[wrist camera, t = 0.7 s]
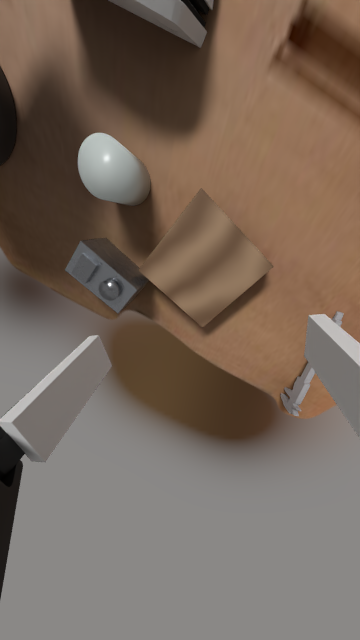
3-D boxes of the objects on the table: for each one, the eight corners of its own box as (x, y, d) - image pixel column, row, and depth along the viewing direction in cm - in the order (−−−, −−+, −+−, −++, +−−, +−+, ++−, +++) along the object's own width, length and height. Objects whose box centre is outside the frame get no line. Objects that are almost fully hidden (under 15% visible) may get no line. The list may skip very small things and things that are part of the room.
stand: (146, 265, 34) (138, 270, 30) (203, 192, 28) (201, 187, 24) (203, 317, 36) (202, 327, 33) (267, 261, 30) (273, 266, 27)
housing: (91, 261, 35) (60, 271, 28) (106, 237, 33) (75, 241, 26) (134, 298, 37) (115, 316, 30) (151, 278, 35) (134, 292, 28)
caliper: (284, 395, 42) (295, 421, 36) (279, 393, 42) (289, 419, 36) (342, 312, 32) (368, 330, 26) (335, 310, 32) (360, 328, 27)
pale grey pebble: (104, 185, 29) (69, 172, 22) (125, 145, 27) (93, 116, 20) (135, 214, 30) (111, 212, 23) (158, 179, 28) (139, 164, 21)
